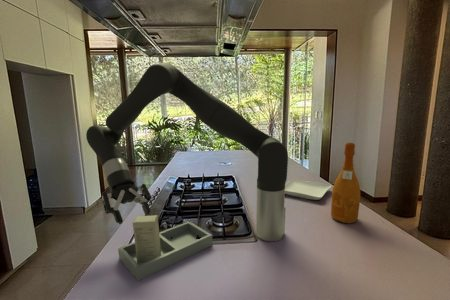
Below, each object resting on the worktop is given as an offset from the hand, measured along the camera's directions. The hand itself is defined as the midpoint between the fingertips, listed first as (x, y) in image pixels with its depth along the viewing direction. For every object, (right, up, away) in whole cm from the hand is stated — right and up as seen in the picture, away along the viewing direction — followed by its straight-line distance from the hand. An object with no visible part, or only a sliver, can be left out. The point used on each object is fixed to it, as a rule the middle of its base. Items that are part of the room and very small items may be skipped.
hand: (135, 218), depth 80 cm
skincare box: (+5, -10, -4) cm, 12 cm away
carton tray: (+10, -10, 0) cm, 14 cm away
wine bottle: (+74, -6, +22) cm, 77 cm away
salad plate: (+68, -1, +50) cm, 84 cm away
